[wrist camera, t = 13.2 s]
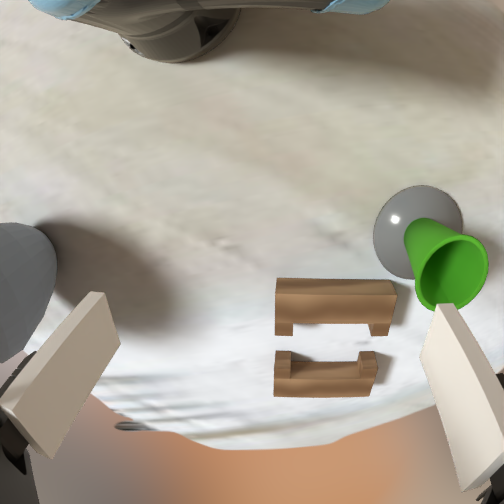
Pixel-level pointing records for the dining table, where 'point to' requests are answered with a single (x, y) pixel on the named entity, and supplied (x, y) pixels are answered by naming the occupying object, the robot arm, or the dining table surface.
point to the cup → (444, 263)
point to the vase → (23, 284)
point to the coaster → (401, 215)
